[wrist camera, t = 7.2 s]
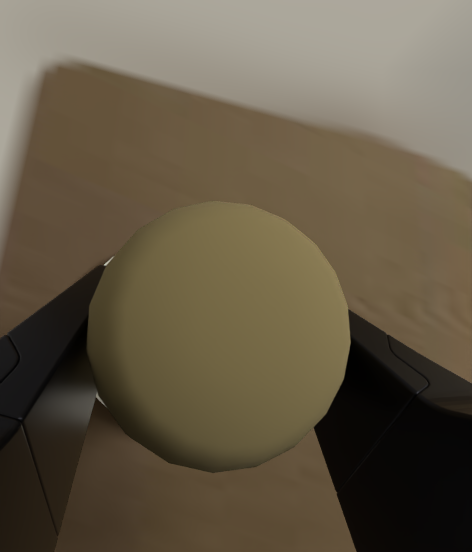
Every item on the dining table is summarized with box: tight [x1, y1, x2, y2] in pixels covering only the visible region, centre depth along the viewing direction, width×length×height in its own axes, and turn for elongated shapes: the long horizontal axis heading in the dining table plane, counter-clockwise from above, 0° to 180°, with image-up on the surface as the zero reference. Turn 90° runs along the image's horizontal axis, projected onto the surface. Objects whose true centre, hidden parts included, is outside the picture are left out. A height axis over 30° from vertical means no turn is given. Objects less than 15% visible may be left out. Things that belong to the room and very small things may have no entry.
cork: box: [86, 201, 351, 473], centre depth 10 cm, size 6×6×11 cm
